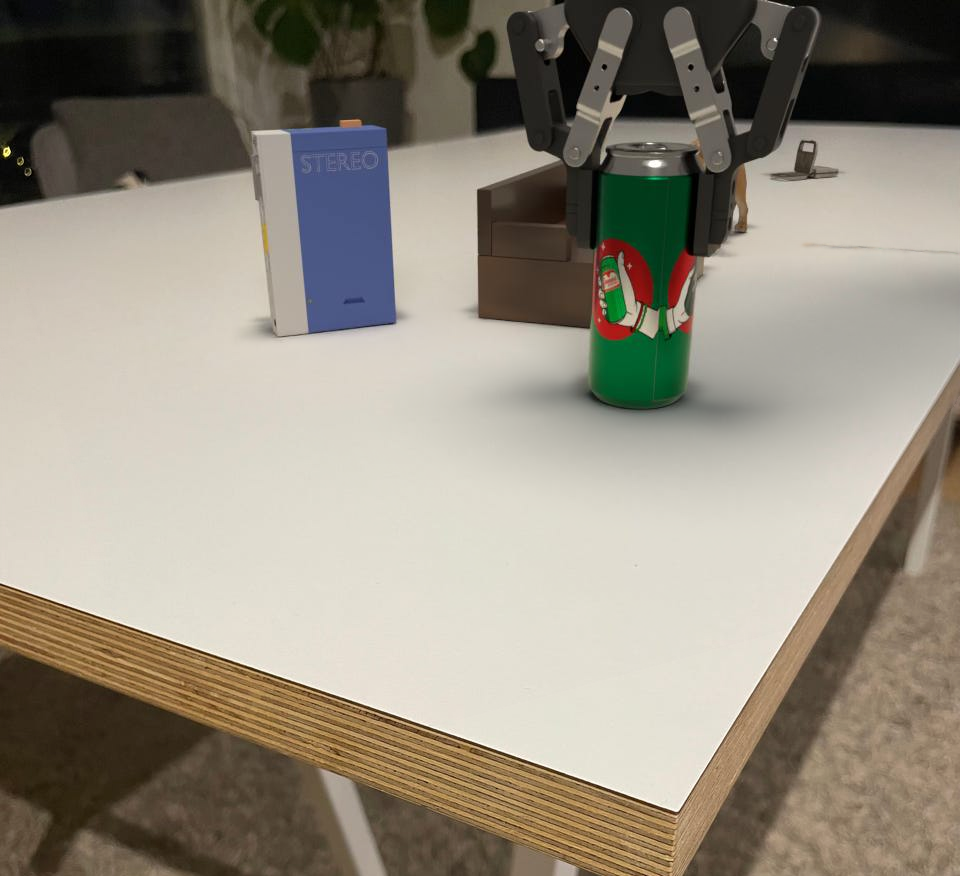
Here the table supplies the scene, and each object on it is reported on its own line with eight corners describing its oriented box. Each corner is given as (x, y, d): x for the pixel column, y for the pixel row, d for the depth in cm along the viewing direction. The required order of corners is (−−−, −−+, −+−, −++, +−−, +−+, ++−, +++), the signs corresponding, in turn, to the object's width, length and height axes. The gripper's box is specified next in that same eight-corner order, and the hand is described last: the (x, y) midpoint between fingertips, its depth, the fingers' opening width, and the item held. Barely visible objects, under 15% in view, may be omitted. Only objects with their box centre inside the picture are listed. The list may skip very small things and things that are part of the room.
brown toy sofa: (703, 273, 79) (712, 161, 75) (641, 332, 64) (649, 197, 61) (565, 263, 83) (568, 156, 79) (478, 317, 68) (476, 189, 65)
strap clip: (823, 173, 128) (827, 136, 126) (840, 176, 126) (845, 138, 124) (767, 178, 125) (771, 140, 123) (784, 181, 123) (788, 142, 121)
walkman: (383, 313, 69) (372, 118, 64) (396, 323, 67) (386, 122, 62) (266, 326, 67) (244, 124, 61) (276, 337, 65) (254, 128, 59)
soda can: (667, 378, 56) (685, 139, 51) (700, 408, 52) (725, 150, 46) (576, 384, 55) (585, 142, 50) (602, 415, 51) (615, 154, 45)
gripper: (864, -179, 43) (808, 245, 51) (537, -154, 48) (533, 229, 56) (846, -211, 37) (785, 277, 45) (473, -179, 42) (478, 255, 50)
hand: (645, 248), depth 50 cm, fingers closed on soda can, 5 cm apart
